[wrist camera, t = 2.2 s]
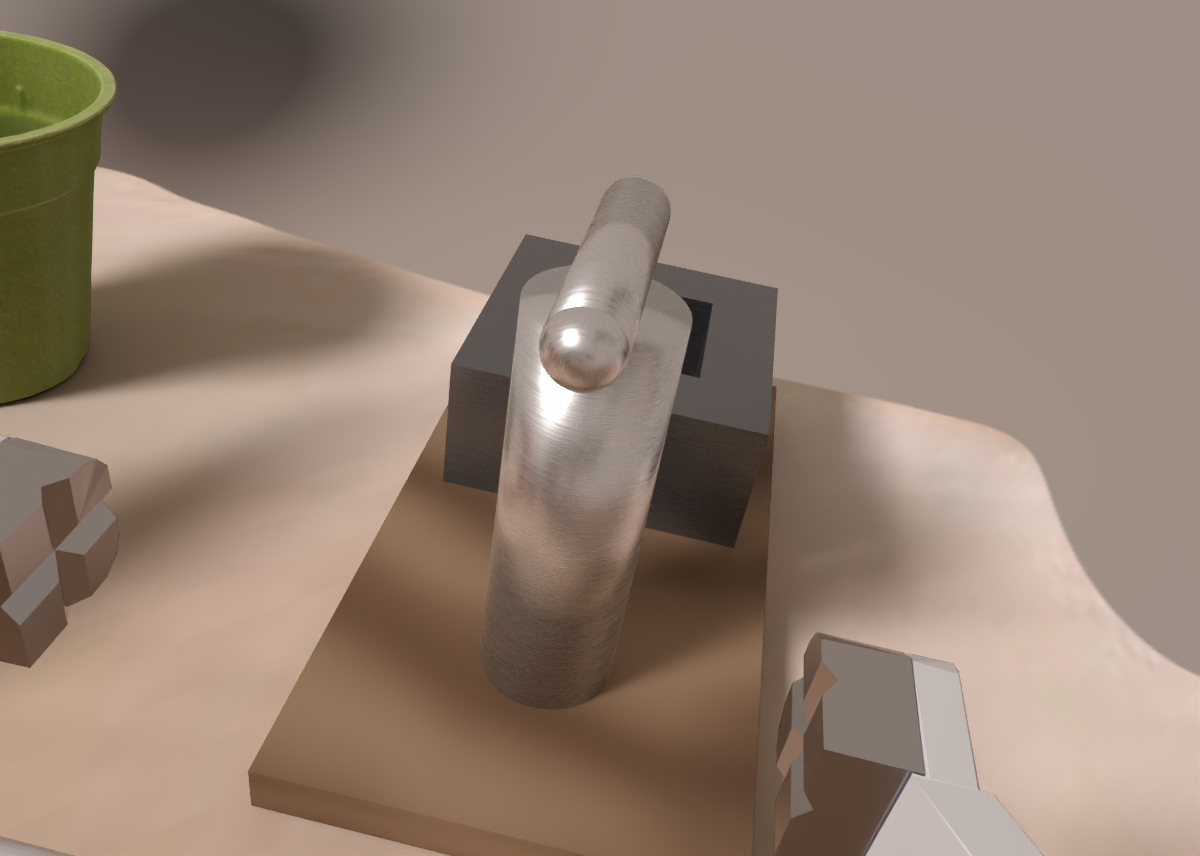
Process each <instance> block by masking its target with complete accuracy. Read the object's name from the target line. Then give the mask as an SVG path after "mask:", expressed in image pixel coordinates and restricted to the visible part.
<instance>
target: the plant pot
mask: <svg viewBox="0 0 1200 856" xmlns="http://www.w3.org/2000/svg"><path fill="white" fill-rule="evenodd" d="M116 92H117V85H116V81H115V78H114V76H113V74H112V73H111V72H110V71H109V70H108V68H106V67H105V66H104V65H103V64H102V63H101V62H99V61H98V60H96V59H95V58H93V57H91V56H89V55H87V54H86V53H84V52H81V51H79V50H77V49H74V48H72V47H69V46H66V45H63V44H60V43H57V42H53V41H50V40H46V39H42V38H38V37H33V36H28V35H23V34H18V33H12V32H7V31H1V30H0V403H5V402H10V401H14V400H19V399H22V398H26V397H29V396H32V395H35V394H37V393H40V392H42V391H45V390H47V389H49V388H51V387H53V386H55V385H57V384H59V383H61V382H63V381H64V380H65V379H67V378H68V377H70V376H71V375H72V374H73V373H74V372H75V371H76V369H77V367H78V365H79V364H80V362H81V360H82V358H83V357H84V355H85V354H86V352H87V351H88V350H89V343H90V316H91V265H92V233H93V192H94V171H95V169H96V167H97V165H98V163H99V160H100V153H101V129H102V127H101V126H102V116H103V114H104V113H105V112H106V111H107V110H108V109H109V108H110V106H111V105H112V103H113V102H114V100H115V97H116Z"/></svg>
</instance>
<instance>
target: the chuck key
mask: <svg viewBox="0 0 1200 856" xmlns="http://www.w3.org/2000/svg"><path fill="white" fill-rule="evenodd" d="M670 212H671V209H670V202H669V199H668V196H667V195H666V193H665V191H664V189H663V188H662V187H661V186H660V185H659V184H658V183H657V182H656V181H654V180H652V179H650V178H648V177H645V176H640V175H631V176H627V177H623V178H621V179H619V180H617V181H615V182H614V183H613V184H612V185H611V186H610V187H609V188H608V189H607V190H606V192H605V193H604V195H603V197H602V199H601V202H600V204H599V206H598V208H597V210H596V213H595V215H594V217H593V219H592V222H591V224H590V226H589V228H588V230H587V232H586V235H585V237H584V239H583V241H582V244H581V246H580V248H579V250H578V252H577V254H576V257H575V259H574V261H573V263H572V265H569V266H562V267H557V268H553V269H549V270H546V271H543V272H541V273H539V274H537V275H535V276H534V277H532V278H531V279H530V280H528V281H527V282H526V284H525V285H524V286H523V288H522V291H521V295H520V304H519V313H518V321H517V330H516V339H515V347H514V356H513V365H512V374H511V382H510V391H509V400H508V409H507V417H506V426H505V435H504V443H503V452H502V461H501V470H500V478H499V487H498V496H497V504H496V513H495V522H494V531H493V539H492V548H491V557H490V565H489V574H488V583H487V592H486V600H485V609H484V618H483V627H482V635H481V644H480V661H481V665H482V668H483V671H484V673H485V675H486V676H487V678H488V680H489V681H490V682H491V683H492V685H493V686H494V687H495V688H496V689H497V690H498V691H500V692H501V693H502V694H504V695H505V696H506V697H508V698H510V699H512V700H513V701H515V702H518V703H520V704H523V705H526V706H529V707H533V708H539V709H549V710H551V709H564V708H570V707H573V706H577V705H579V704H582V703H584V702H586V701H588V700H590V699H591V698H593V697H594V696H595V695H597V694H598V693H599V692H600V691H601V690H602V689H603V687H604V686H605V684H606V683H607V681H608V679H609V677H610V674H611V671H612V666H613V662H614V658H615V654H616V649H617V645H618V641H619V636H620V632H621V628H622V624H623V619H624V615H625V611H626V606H627V602H628V598H629V593H630V589H631V585H632V581H633V576H634V572H635V568H636V563H637V559H638V555H639V551H640V546H641V542H642V538H643V533H644V529H645V525H646V520H647V516H648V512H649V508H650V503H651V499H652V495H653V490H654V486H655V482H656V478H657V473H658V469H659V465H660V460H661V456H662V452H663V447H664V443H665V439H666V435H667V430H668V426H669V422H670V417H671V413H672V409H673V405H674V400H675V396H676V392H677V387H678V383H679V379H680V375H681V370H682V366H683V362H684V357H685V353H686V349H687V344H688V340H689V336H690V332H691V327H692V314H691V311H690V309H689V307H688V306H687V304H686V303H685V301H684V300H683V299H682V298H681V297H680V296H679V295H678V294H676V293H675V292H674V291H673V290H671V289H670V288H668V287H667V286H665V285H663V284H661V283H660V282H658V281H655V280H653V275H654V272H655V268H656V265H657V262H658V258H659V255H660V251H661V248H662V244H663V241H664V238H665V234H666V231H667V227H668V224H669V220H670Z"/></svg>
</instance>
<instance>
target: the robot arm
mask: <svg viewBox="0 0 1200 856" xmlns="http://www.w3.org/2000/svg"><path fill="white" fill-rule="evenodd" d="M111 489H112V486H111V481H110V476H109V472H108V467H107V465H106V464H104V463H102V462H101V461H99V460H97V459H94V458H90V457H87V456H83V455H79V454H75V453H72V452H68V451H64V450H61V449H57V448H53V447H49V446H46V445H42V444H38V443H34V442H31V441H27V440H23V439H19V438H12V437H8V436H4V435H1V434H0V661H2V662H6V663H11V664H15V665H20V666H24V667H29V668H31V666H32V665H33V664H34V663H35V662H36V660H37V659H38V658H39V657H40V656H41V655H42V653H43V652H44V651H45V650H46V649H47V648H48V646H49V645H50V644H51V643H52V642H53V641H54V639H55V638H56V637H57V636H58V635H59V634H60V632H61V631H62V630H63V629H64V628H65V627H66V625H67V609H66V607H67V606H70V605H72V604H74V603H76V602H79V601H81V600H83V599H86V598H88V597H90V596H92V595H93V594H94V592H95V591H96V590H97V589H98V587H99V586H100V585H101V584H102V582H103V581H104V580H105V579H106V577H107V575H108V573H109V570H110V568H111V566H112V564H113V561H114V559H115V557H116V554H117V548H118V539H119V531H118V524H117V518H116V517H115V515H114V514H113V513H112V512H111V511H110V509H109V508H108V507H107V506H106V505H105V503H104V502H103V501H102V499H103V498H104V496H105V495H106V494H107V493H108V492H109V491H110V490H111ZM776 766H777V768H778V769H779V771H780V772H781V774H782V775H783V777H784V782H783V784H782V786H781V789H780V791H779V793H778V796H777V798H776V800H775V837H774V856H1043V854H1042V853H1041V852H1040V851H1039V849H1038V848H1037V847H1036V846H1035V845H1034V843H1033V842H1032V841H1031V840H1030V838H1029V837H1028V836H1027V835H1026V833H1025V832H1024V831H1023V830H1022V828H1021V827H1020V826H1019V825H1018V823H1017V822H1016V821H1015V820H1014V818H1013V817H1012V816H1011V815H1010V814H1009V812H1008V811H1007V810H1006V809H1005V807H1004V806H1003V805H1002V804H1001V802H1000V801H999V800H998V799H997V797H996V796H995V795H994V794H992V793H988V792H985V791H981V790H980V789H979V783H978V778H977V772H976V766H975V761H974V755H973V749H972V744H971V738H970V732H969V727H968V721H967V715H966V710H965V704H964V698H963V693H962V687H961V681H960V675H959V671H958V670H957V668H956V667H955V665H954V664H953V663H949V662H945V661H940V660H936V659H931V658H927V657H923V656H918V655H914V654H909V653H907V654H905V653H903V652H899V651H895V650H891V649H886V648H882V647H878V646H873V645H869V644H865V643H860V642H856V641H852V640H848V639H843V638H839V637H835V636H830V635H826V634H822V633H817V632H816V634H815V635H814V636H813V638H812V639H811V640H810V643H809V645H808V647H807V650H806V652H805V654H804V677H803V678H801V679H799V680H797V681H795V682H793V683H792V686H791V689H790V691H789V694H788V697H787V699H786V702H785V705H784V709H783V714H782V718H781V722H780V726H779V734H778V742H777V759H776ZM0 856H74V855H70V854H66V853H62V852H59V851H55V850H51V849H47V848H43V847H39V846H36V845H32V844H28V843H24V842H20V841H16V840H13V839H9V838H5V837H1V836H0Z"/></svg>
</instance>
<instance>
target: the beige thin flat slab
mask: <svg viewBox="0 0 1200 856" xmlns="http://www.w3.org/2000/svg"><path fill="white" fill-rule="evenodd" d="M775 403H776V387H775V386H772V393H771V410H770V427H769V437H768V440H767V443H766V446H765V450H764V453H763V456H762V459H761V463H760V466H759V469H758V472H757V475H756V479H755V482H754V485H753V488H752V492H751V495H750V498H749V501H748V504H747V508H746V511H745V514H744V517H743V521H742V524H741V527H740V530H739V534H738V537H737V540H736V543H735V546H734V548H731V547H726V546H722V545H718V544H713V543H709V542H705V541H700V540H696V539H692V538H687V537H683V536H679V535H674V534H670V533H666V532H661V531H657V530H653V529H648V528H645V529H644V533H643V538H642V542H641V546H640V551H639V555H638V559H637V563H636V568H635V572H634V576H633V581H632V585H631V589H630V593H629V598H628V602H627V606H626V611H625V615H624V619H623V624H622V628H621V632H620V636H619V641H618V645H617V649H616V654H615V658H614V662H613V666H612V671H611V674H610V677H609V679H608V681H607V683H606V684H605V686H604V687H603V689H602V690H601V691H600V692H599V693H598V694H597V695H595V696H594V697H593V698H591V699H590V700H588V701H586V702H584V703H582V704H579V705H577V706H573V707H570V708H564V709H551V710H549V709H539V708H533V707H529V706H526V705H523V704H520V703H518V702H515V701H513V700H512V699H510V698H508V697H506V696H505V695H504V694H502V693H501V692H500V691H498V690H497V689H496V688H495V687H494V686H493V685H492V683H491V682H490V681H489V680H488V678H487V676H486V675H485V673H484V671H483V668H482V665H481V661H480V644H481V635H482V627H483V618H484V609H485V600H486V592H487V583H488V574H489V565H490V557H491V548H492V539H493V531H494V522H495V513H496V504H497V496H498V494H496V493H492V492H488V491H483V490H479V489H475V488H470V487H466V486H461V485H457V484H453V483H448V482H444V481H443V471H444V457H445V444H446V430H447V416H448V406H447V407H446V409H445V411H444V413H443V415H442V417H441V418H440V420H439V422H438V424H437V426H436V428H435V429H434V431H433V433H432V435H431V437H430V439H429V440H428V442H427V444H426V446H425V448H424V450H423V451H422V453H421V455H420V457H419V459H418V461H417V462H416V464H415V466H414V468H413V470H412V472H411V473H410V475H409V477H408V479H407V481H406V483H405V484H404V486H403V488H402V490H401V492H400V494H399V495H398V497H397V499H396V501H395V503H394V505H393V506H392V508H391V510H390V512H389V514H388V516H387V517H386V519H385V521H384V523H383V525H382V527H381V528H380V530H379V532H378V534H377V536H376V538H375V539H374V541H373V543H372V545H371V547H370V549H369V550H368V552H367V554H366V556H365V558H364V560H363V561H362V563H361V565H360V567H359V569H358V571H357V572H356V574H355V576H354V578H353V580H352V582H351V583H350V585H349V587H348V589H347V591H346V593H345V594H344V596H343V598H342V600H341V602H340V604H339V605H338V607H337V609H336V611H335V613H334V615H333V616H332V618H331V620H330V622H329V624H328V626H327V627H326V629H325V631H324V633H323V635H322V637H321V638H320V640H319V642H318V644H317V646H316V648H315V649H314V651H313V653H312V655H311V657H310V659H309V660H308V662H307V664H306V666H305V668H304V670H303V671H302V673H301V675H300V677H299V679H298V681H297V682H296V684H295V686H294V688H293V690H292V692H291V693H290V695H289V697H288V699H287V701H286V703H285V704H284V706H283V708H282V710H281V712H280V714H279V715H278V717H277V719H276V721H275V723H274V725H273V726H272V728H271V730H270V732H269V734H268V736H267V737H266V739H265V741H264V743H263V745H262V747H261V748H260V750H259V752H258V754H257V756H256V758H255V759H254V761H253V763H252V765H251V767H250V769H249V770H248V775H249V785H250V796H251V805H253V806H257V807H261V808H265V809H269V810H273V811H277V812H281V813H285V814H288V815H292V816H296V817H300V818H304V819H308V820H312V821H316V822H320V823H324V824H328V825H332V826H336V827H340V828H344V829H348V830H352V831H356V832H360V833H364V834H368V835H372V836H376V837H380V838H384V839H388V840H392V841H396V842H400V843H404V844H408V845H412V846H416V847H420V848H424V849H428V850H432V851H436V852H440V853H444V854H448V855H452V856H752V842H753V822H754V803H755V784H756V765H757V746H758V727H759V708H760V689H761V670H762V651H763V632H764V613H765V593H766V574H767V555H768V536H769V517H770V498H771V479H772V460H773V441H774V422H775Z"/></svg>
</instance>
